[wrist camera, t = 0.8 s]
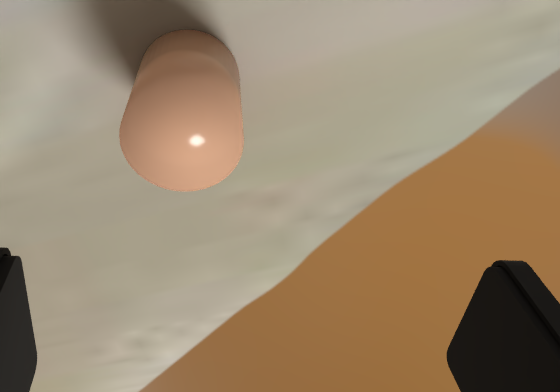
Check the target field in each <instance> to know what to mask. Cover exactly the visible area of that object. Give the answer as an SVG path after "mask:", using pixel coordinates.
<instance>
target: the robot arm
mask: <svg viewBox="0 0 560 392" xmlns="http://www.w3.org/2000/svg"><path fill="white" fill-rule="evenodd" d="M447 362H448V365H449V368H450V370H451V372H452V374H453V376H454V378H455V380H456V382H457V385H458V387H459V389H460V391H461V392H560V304H559V302H558V301H557V300H556V299H555V297H554V296H553V295H552V294H551V292H550V291H549V290H548V289H547V287H546V286H545V285H544V283H543V282H542V281H541V280H540V278H539V277H538V276H537V275H536V273H535V272H534V271H533V269H532V268H531V267H530V266H529V265H528V264H527V263H526V262H523V261H505V260H504V261H503V260H499V261H496V262H494V263H493V264H492V266H491V267H488V268H487V269H486V270H485V271H484V273H483V276H482V278H481V280H480V282H479V284H478V286H477V288H476V290H475V293H474V294H473V297H472V299H471V301H470V303H469V305H468V307H467V309H466V312H465V313H464V316H463V318H462V320H461V322H460V324H459V326H458V328H457V330H456V332H455V335H454V337H453V339H452V341H451V343H450V345H449V347H448V350H447ZM36 365H37V351H36V345H35V339H34V333H33V327H32V321H31V315H30V309H29V303H28V297H27V291H26V285H25V279H24V273H23V267H22V261H21V258H20V257H19V256H11V253H10V251H9V249H8V248H0V392H29V390H30V387H31V384H32V381H33V377H34V374H35V370H36Z"/></svg>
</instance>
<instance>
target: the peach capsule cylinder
mask: <svg viewBox="0 0 560 392" xmlns="http://www.w3.org/2000/svg"><path fill="white" fill-rule="evenodd" d="M119 137H120V145H121V148H122V151H123V154H124V156H125V158H126V160H127V161H128V163H129V164H130V166H131V167H132V168H133V169H134V170H135V171H136V172H137V173H138V174H139V175H140V176H141V177H143V178H144V179H145V180H147V181H149V182H150V183H152V184H154V185H157V186H159V187H162V188H165V189H169V190H174V191H196V190H201V189H205V188H208V187H211V186H213V185H215V184H217V183H219V182H220V181H222V180H223V179H225V178H226V177H227V176H228V175H229V174H230V173H231V172H232V171H233V170H234V168H235V167H236V166H237V164H238V162H239V160H240V158H241V155H242V151H243V146H244V135H243V121H242V106H241V92H240V77H239V70H238V66H237V63H236V61H235V58H234V57H233V55H232V53H231V52H230V51H229V49H228V48H227V47H226V46H225V45H224V44H223V43H222V42H221V41H219V40H218V39H217V38H215V37H213V36H211V35H209V34H207V33H204V32H201V31H197V30H186V29H185V30H177V31H172V32H169V33H167V34H164V35H163V36H161V37H159V38H158V39H156V40H155V41H154V42H153V43H152V44H151V45H150V46H149V48H148V49H147V50H146V52H145V54H144V56H143V58H142V61H141V64H140V67H139V70H138V73H137V76H136V79H135V82H134V85H133V88H132V91H131V94H130V97H129V100H128V103H127V106H126V109H125V112H124V115H123V118H122V121H121V125H120V134H119Z"/></svg>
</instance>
